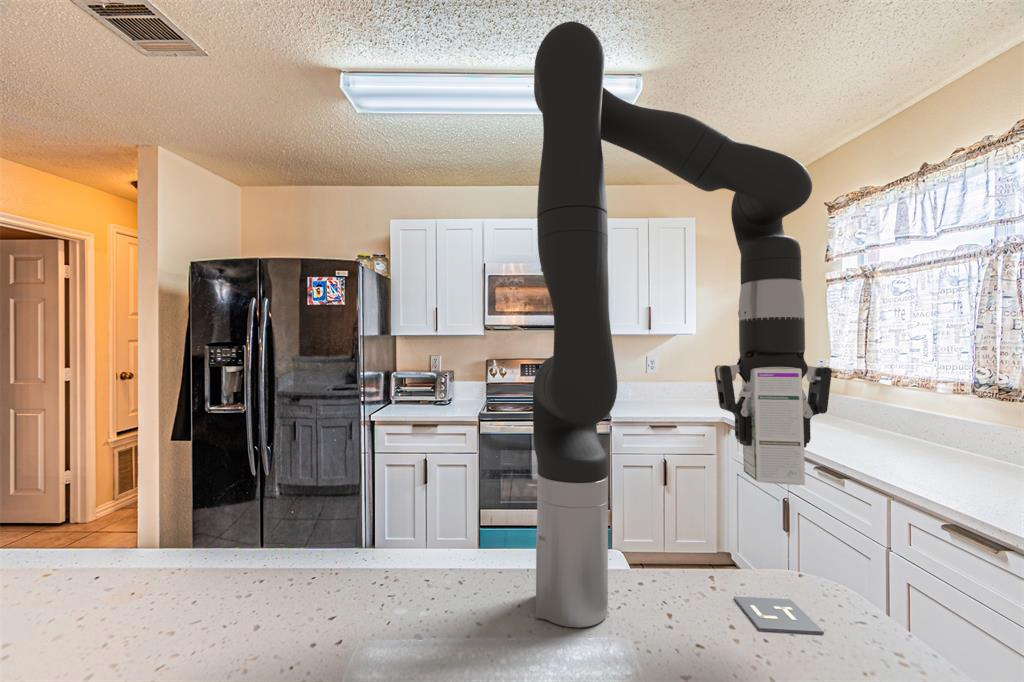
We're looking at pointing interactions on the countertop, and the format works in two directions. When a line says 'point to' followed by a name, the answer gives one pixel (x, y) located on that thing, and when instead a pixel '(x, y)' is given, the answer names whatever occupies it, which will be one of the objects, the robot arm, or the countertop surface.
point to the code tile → (777, 615)
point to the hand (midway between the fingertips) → (772, 445)
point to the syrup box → (776, 426)
